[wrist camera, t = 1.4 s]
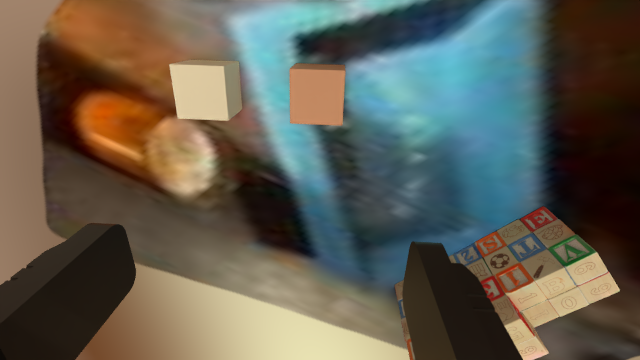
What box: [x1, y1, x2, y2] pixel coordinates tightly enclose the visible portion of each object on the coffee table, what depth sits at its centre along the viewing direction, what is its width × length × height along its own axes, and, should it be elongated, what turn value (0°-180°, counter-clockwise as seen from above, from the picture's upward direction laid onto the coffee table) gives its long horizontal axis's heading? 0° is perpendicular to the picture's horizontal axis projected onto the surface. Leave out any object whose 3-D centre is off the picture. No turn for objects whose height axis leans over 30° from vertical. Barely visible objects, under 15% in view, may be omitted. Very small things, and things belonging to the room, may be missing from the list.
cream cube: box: [169, 60, 242, 121], centre depth 33 cm, size 5×5×5 cm
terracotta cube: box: [290, 63, 345, 125], centre depth 32 cm, size 5×5×5 cm
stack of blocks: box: [395, 206, 620, 360], centre depth 38 cm, size 21×6×12 cm, turn 129°
